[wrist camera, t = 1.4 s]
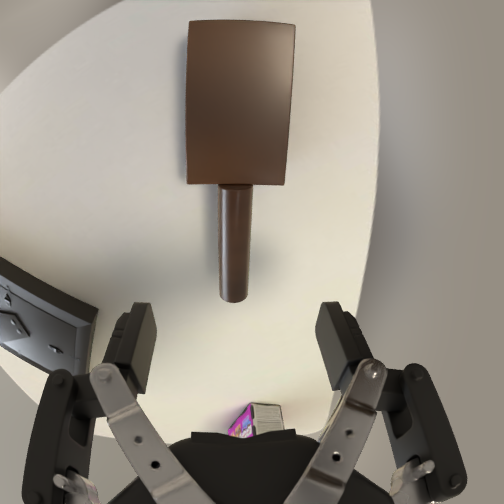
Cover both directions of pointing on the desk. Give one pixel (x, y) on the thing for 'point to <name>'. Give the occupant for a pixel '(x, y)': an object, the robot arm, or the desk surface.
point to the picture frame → (44, 323)
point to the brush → (237, 126)
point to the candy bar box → (257, 420)
